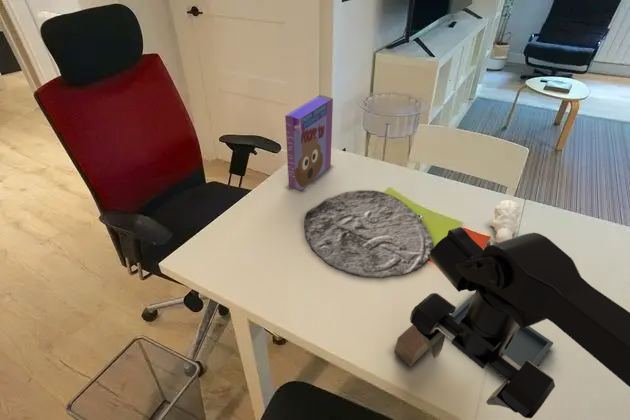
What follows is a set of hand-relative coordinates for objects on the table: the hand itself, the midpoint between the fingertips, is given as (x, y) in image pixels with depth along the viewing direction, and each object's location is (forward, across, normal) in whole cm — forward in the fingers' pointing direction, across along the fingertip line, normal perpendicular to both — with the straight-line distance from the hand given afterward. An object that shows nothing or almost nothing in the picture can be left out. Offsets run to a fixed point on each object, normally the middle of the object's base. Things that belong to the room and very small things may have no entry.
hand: (461, 377), depth 57 cm
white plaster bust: (+12, +17, -50) cm, 54 cm away
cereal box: (+12, +72, -29) cm, 78 cm away
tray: (+12, +2, -20) cm, 23 cm away
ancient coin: (+12, +41, -24) cm, 49 cm away
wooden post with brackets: (+12, +15, -37) cm, 42 cm away
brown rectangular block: (+12, +11, -6) cm, 17 cm away
